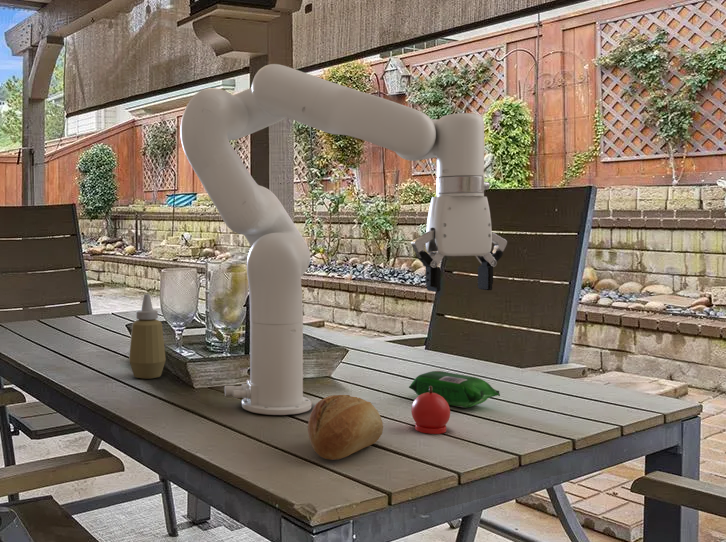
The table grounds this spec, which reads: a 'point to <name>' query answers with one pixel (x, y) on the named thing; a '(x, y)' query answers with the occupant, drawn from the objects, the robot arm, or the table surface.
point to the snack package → (454, 388)
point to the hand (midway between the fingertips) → (459, 290)
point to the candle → (430, 413)
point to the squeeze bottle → (147, 343)
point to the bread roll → (343, 426)
